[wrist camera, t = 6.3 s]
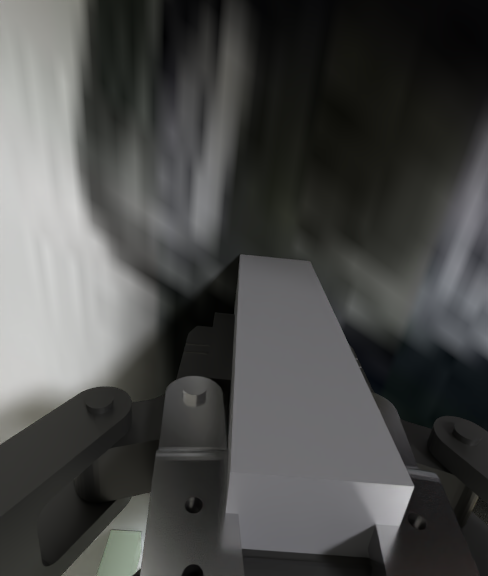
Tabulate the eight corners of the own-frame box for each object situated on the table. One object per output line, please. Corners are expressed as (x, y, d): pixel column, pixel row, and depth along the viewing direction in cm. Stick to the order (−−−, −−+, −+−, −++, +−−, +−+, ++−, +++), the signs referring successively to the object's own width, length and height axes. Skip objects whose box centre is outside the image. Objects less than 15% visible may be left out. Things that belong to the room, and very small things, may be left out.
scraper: (361, 266, 13) (549, 497, 5) (293, 563, 20) (328, 887, 11) (187, 249, 13) (88, 461, 5) (172, 554, 19) (118, 878, 11)
